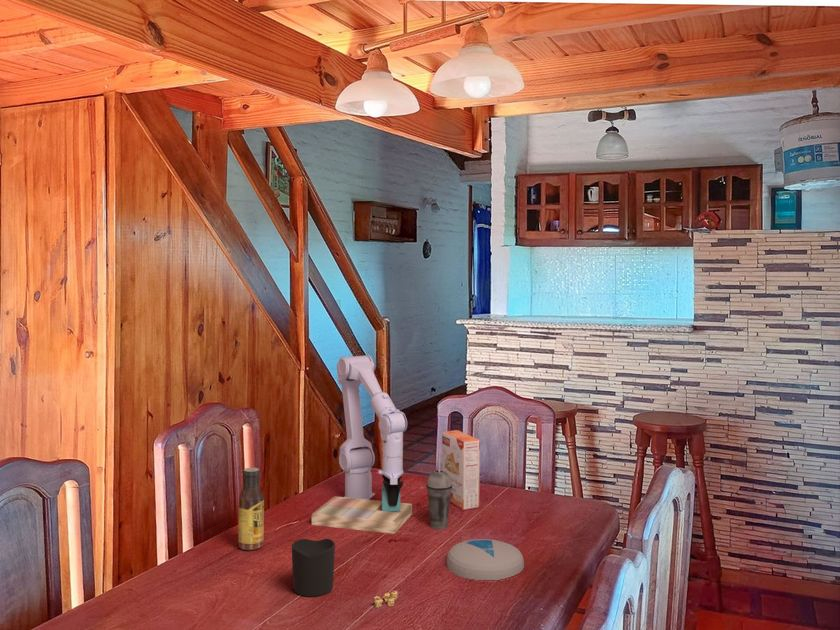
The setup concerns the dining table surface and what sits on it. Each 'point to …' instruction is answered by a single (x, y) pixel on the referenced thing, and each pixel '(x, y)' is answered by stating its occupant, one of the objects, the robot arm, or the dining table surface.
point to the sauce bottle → (251, 512)
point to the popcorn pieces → (386, 599)
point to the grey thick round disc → (485, 559)
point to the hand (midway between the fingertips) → (392, 502)
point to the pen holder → (313, 566)
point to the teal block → (386, 505)
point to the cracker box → (462, 467)
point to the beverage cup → (439, 497)
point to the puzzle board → (363, 521)
